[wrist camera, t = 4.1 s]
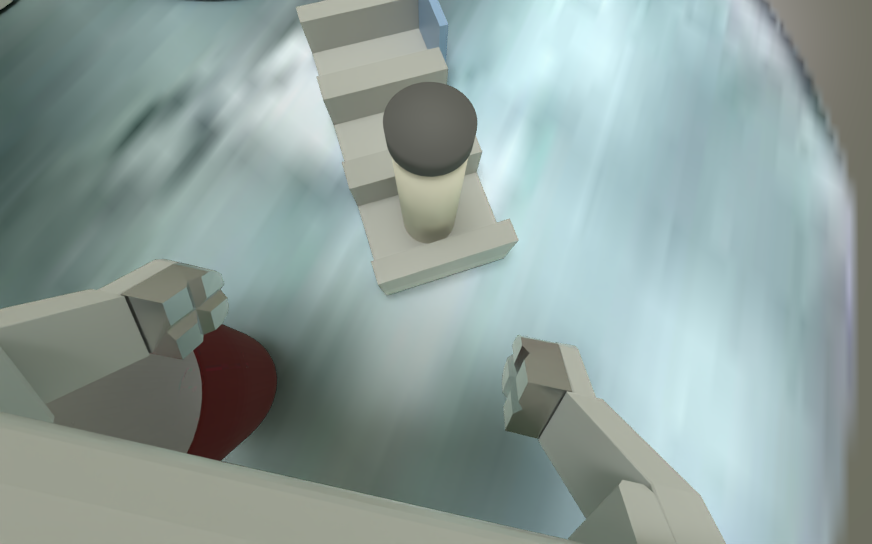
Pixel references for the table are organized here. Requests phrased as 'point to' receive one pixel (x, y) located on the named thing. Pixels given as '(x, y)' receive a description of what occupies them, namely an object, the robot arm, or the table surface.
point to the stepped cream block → (365, 140)
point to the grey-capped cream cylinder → (429, 154)
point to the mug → (180, 397)
